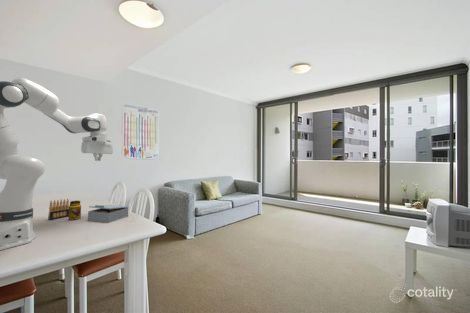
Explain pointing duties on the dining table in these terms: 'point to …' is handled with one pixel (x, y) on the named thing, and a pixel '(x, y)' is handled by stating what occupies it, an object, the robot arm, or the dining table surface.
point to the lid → (108, 206)
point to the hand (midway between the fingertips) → (97, 160)
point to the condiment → (74, 210)
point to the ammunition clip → (58, 210)
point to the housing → (107, 215)
